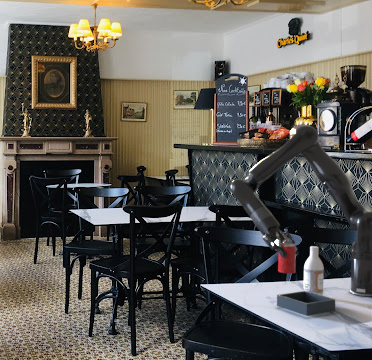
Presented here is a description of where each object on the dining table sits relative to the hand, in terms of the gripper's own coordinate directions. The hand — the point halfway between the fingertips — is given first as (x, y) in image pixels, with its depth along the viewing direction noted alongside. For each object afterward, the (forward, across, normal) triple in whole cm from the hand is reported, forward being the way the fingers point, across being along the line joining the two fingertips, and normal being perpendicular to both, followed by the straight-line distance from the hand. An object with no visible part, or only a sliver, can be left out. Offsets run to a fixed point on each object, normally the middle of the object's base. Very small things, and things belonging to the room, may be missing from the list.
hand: (291, 255), depth 222 cm
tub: (+19, -5, +6) cm, 21 cm away
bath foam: (+13, +14, +12) cm, 23 cm away
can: (+3, 0, +6) cm, 6 cm away
